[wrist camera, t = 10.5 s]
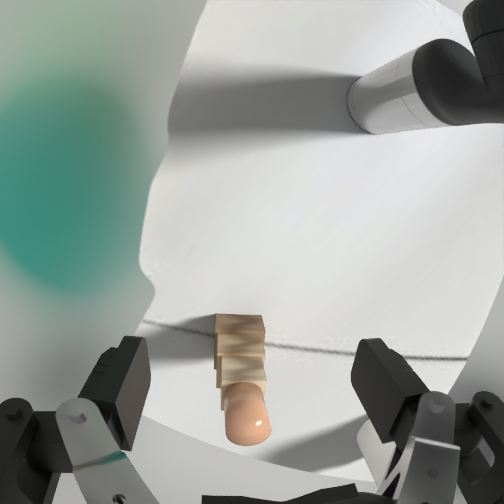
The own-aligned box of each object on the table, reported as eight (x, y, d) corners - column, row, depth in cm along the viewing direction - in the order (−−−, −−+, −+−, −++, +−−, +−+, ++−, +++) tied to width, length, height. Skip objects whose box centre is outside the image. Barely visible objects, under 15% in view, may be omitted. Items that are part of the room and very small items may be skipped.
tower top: (261, 356, 37) (266, 380, 32) (257, 385, 38) (262, 410, 34) (221, 355, 37) (222, 380, 32) (220, 384, 38) (221, 410, 33)
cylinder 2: (341, 447, 59) (374, 530, 35) (388, 392, 55) (443, 477, 31) (393, 449, 62) (429, 516, 38) (437, 400, 58) (487, 465, 34)
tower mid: (260, 333, 42) (265, 353, 37) (257, 367, 43) (260, 388, 39) (217, 332, 41) (217, 352, 36) (216, 366, 43) (216, 387, 38)
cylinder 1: (264, 381, 32) (272, 416, 27) (262, 409, 33) (269, 444, 28) (223, 382, 32) (225, 418, 26) (224, 410, 33) (226, 446, 27)
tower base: (261, 315, 47) (265, 331, 42) (257, 352, 48) (260, 370, 44) (215, 313, 46) (215, 329, 41) (214, 350, 48) (214, 369, 43)
